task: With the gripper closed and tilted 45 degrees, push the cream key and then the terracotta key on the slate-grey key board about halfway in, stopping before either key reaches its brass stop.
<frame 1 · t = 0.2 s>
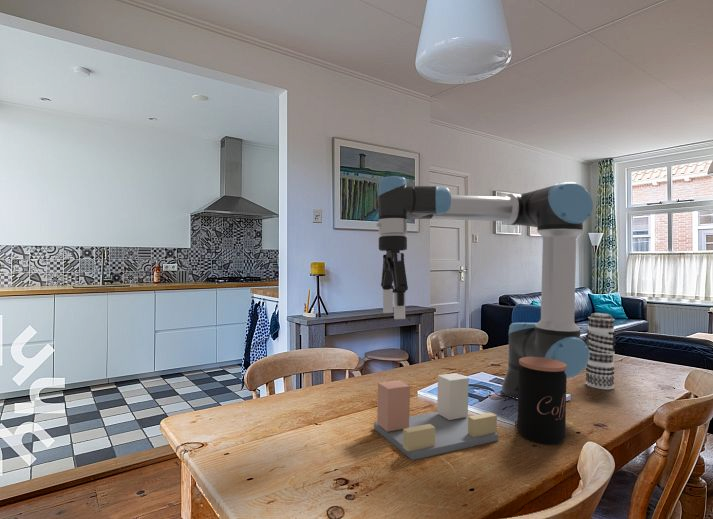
hand: (393, 315, 106), 27 cm above the table, tool pointing down, fingers open, 13 cm apart
cream key: (452, 395, 105), point 7 cm above the table, slide at 0.0 cm
coffee jar: (540, 436, 97), on the table
white patterned cylinder: (599, 386, 139), on the table
key board: (431, 432, 98), on the table
terracotta key: (393, 405, 97), point 7 cm above the table, slide at 0.0 cm
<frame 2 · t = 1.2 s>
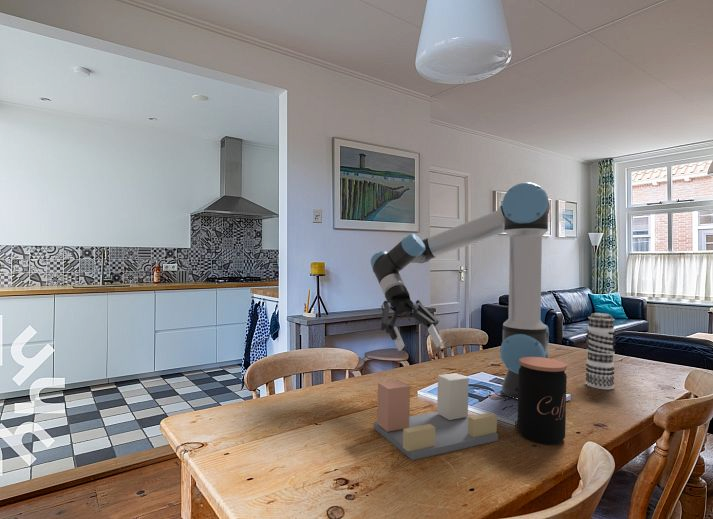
hand: (421, 346, 118), 17 cm above the table, tool tilted 45°, fingers open, 13 cm apart
nothing on the table moved.
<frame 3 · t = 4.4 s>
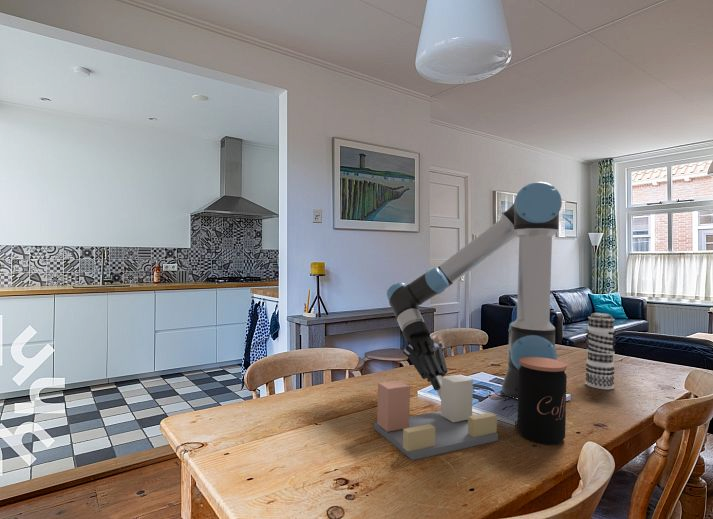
hand: (446, 400, 106), 5 cm above the table, tool tilted 45°, fingers closed
cream key: (456, 397, 103), point 7 cm above the table, slide at 1.6 cm, touching gripper
everything else where it was.
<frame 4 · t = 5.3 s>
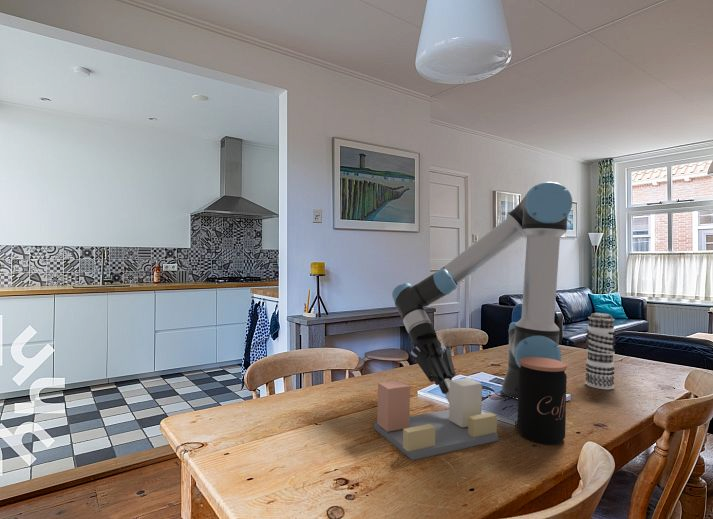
hand: (455, 403, 104), 5 cm above the table, tool tilted 45°, fingers closed
cream key: (465, 401, 100), point 7 cm above the table, slide at 4.9 cm, touching gripper
everything else where it was.
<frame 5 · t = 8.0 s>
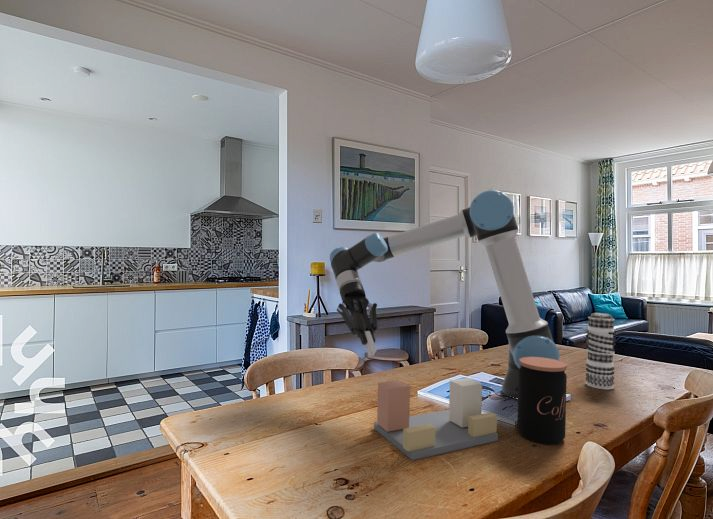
hand: (372, 353, 111), 16 cm above the table, tool tilted 45°, fingers closed
cream key: (465, 401, 100), point 7 cm above the table, slide at 4.9 cm
everything else where it was.
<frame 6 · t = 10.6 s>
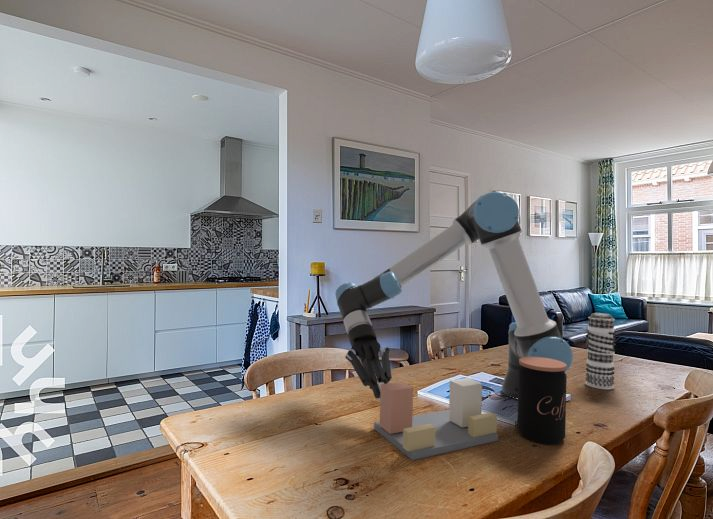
hand: (387, 409, 99), 5 cm above the table, tool tilted 45°, fingers closed
terracotta key: (396, 406, 96), point 7 cm above the table, slide at 1.3 cm, touching gripper
everything else where it was.
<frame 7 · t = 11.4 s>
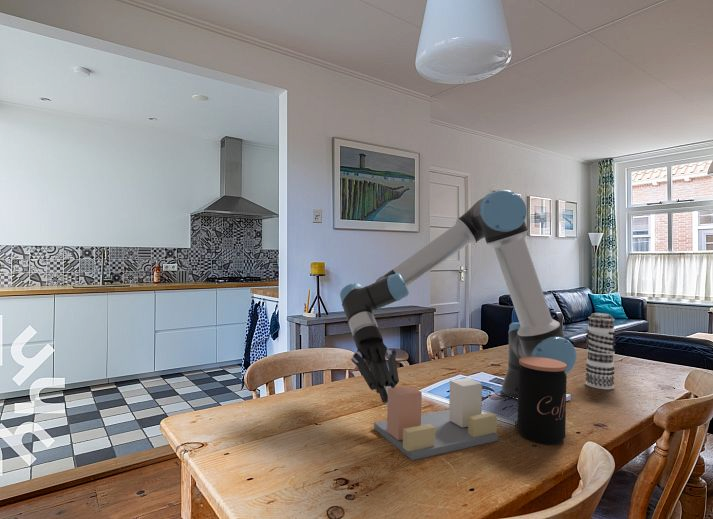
hand: (395, 413, 96), 5 cm above the table, tool tilted 45°, fingers closed
terracotta key: (404, 412, 92), point 7 cm above the table, slide at 4.8 cm, touching gripper
everything else where it was.
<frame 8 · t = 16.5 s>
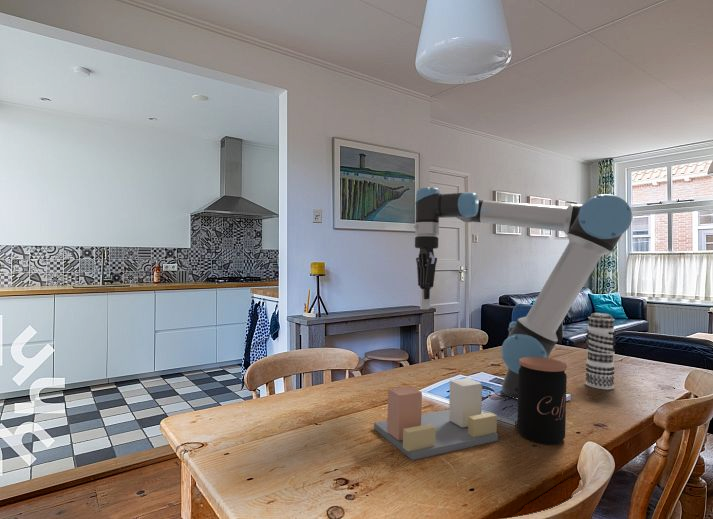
hand: (424, 308, 130), 26 cm above the table, tool pointing down, fingers closed
terracotta key: (404, 412, 92), point 7 cm above the table, slide at 4.9 cm
everything else where it was.
at the end: cream key slide at 4.9 cm; terracotta key slide at 4.9 cm; coffee jar moved 0.2 cm from its start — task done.
